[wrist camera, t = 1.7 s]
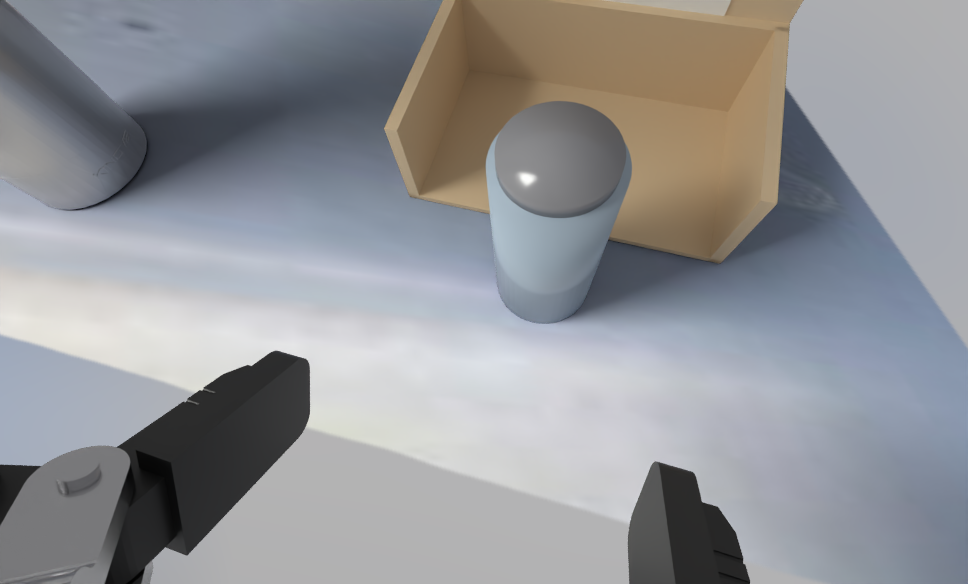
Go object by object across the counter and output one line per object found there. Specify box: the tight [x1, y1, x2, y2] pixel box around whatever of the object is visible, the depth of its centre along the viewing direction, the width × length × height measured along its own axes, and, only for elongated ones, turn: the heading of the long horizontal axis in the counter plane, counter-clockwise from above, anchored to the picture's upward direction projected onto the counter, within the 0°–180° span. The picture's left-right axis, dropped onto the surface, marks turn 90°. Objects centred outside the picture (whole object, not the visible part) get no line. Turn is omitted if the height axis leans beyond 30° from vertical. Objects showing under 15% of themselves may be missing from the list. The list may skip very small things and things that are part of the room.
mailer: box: [384, 0, 803, 264], centre depth 27 cm, size 22×14×14 cm, turn 74°
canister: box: [486, 101, 632, 324], centre depth 24 cm, size 6×6×13 cm
